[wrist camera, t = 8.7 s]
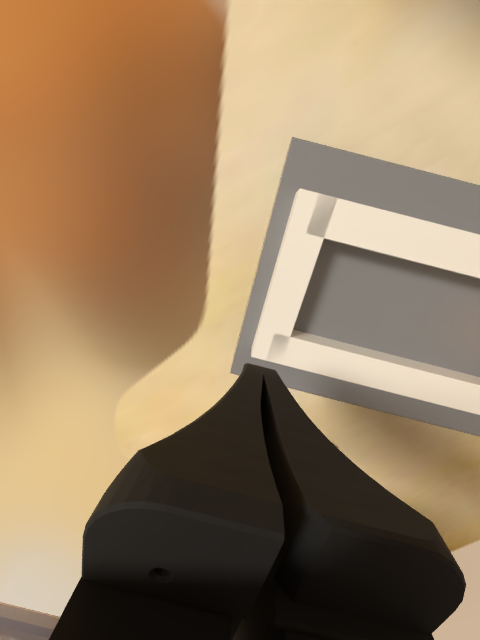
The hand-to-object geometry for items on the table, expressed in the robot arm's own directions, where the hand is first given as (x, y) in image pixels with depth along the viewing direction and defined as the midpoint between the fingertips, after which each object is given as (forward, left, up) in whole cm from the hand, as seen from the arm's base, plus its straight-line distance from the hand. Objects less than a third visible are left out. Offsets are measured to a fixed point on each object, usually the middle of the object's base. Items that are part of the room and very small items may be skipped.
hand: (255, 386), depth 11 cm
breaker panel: (+4, -11, -9) cm, 15 cm away
